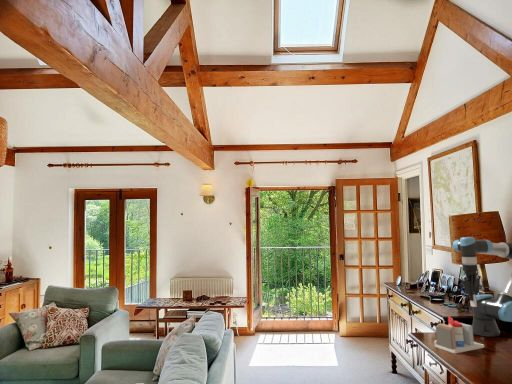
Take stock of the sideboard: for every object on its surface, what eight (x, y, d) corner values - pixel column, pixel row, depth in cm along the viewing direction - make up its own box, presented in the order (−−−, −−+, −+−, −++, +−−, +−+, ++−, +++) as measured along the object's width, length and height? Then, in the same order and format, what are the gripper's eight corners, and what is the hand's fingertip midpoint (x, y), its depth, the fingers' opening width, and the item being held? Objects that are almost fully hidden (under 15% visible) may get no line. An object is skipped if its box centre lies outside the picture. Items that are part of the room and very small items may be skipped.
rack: (463, 341, 213) (461, 318, 214) (484, 347, 201) (481, 323, 202) (434, 346, 205) (432, 323, 206) (454, 353, 193) (452, 328, 194)
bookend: (459, 340, 209) (458, 322, 210) (474, 344, 201) (472, 325, 202) (456, 341, 208) (454, 322, 209) (470, 345, 200) (468, 326, 201)
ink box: (464, 347, 198) (461, 318, 200) (454, 346, 199) (452, 318, 201) (459, 342, 206) (456, 315, 208) (449, 342, 207) (447, 315, 209)
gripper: (472, 263, 218) (476, 304, 216) (455, 264, 214) (459, 306, 211) (483, 263, 211) (488, 306, 209) (467, 265, 207) (471, 308, 204)
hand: (473, 306), depth 210 cm, fingers closed
